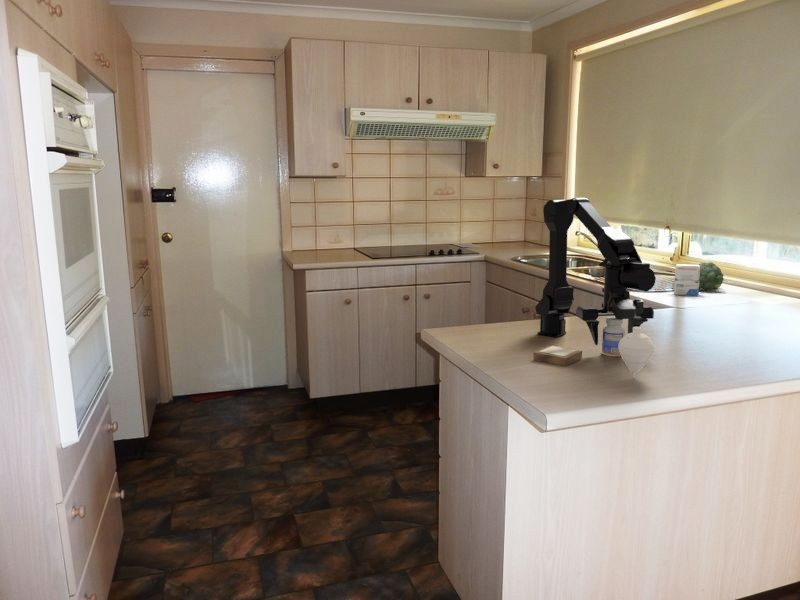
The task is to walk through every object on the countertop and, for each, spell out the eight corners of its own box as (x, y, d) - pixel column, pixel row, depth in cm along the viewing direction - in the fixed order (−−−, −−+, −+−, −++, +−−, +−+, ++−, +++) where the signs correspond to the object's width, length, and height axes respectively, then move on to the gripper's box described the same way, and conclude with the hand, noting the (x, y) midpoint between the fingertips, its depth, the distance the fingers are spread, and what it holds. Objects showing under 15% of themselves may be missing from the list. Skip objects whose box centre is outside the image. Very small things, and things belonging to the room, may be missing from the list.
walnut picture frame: (533, 359, 159) (533, 351, 159) (550, 352, 166) (550, 344, 166) (565, 366, 154) (565, 357, 153) (581, 358, 160) (582, 350, 160)
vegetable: (738, 285, 251) (719, 272, 243) (710, 304, 257) (691, 292, 249) (722, 265, 259) (704, 251, 251) (696, 284, 265) (677, 271, 257)
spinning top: (610, 377, 144) (613, 327, 142) (626, 370, 149) (628, 322, 147) (642, 385, 139) (646, 332, 136) (657, 377, 144) (660, 326, 142)
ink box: (698, 294, 246) (701, 264, 244) (697, 296, 242) (699, 266, 239) (675, 292, 250) (677, 263, 248) (673, 294, 246) (675, 264, 244)
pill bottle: (606, 350, 167) (608, 315, 165) (626, 353, 164) (628, 317, 162) (598, 354, 163) (600, 318, 161) (618, 358, 160) (620, 321, 158)
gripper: (591, 292, 152) (589, 353, 155) (666, 290, 153) (662, 351, 156) (576, 284, 163) (574, 342, 165) (645, 282, 164) (642, 340, 167)
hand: (612, 344), depth 163 cm, fingers open, 9 cm apart
